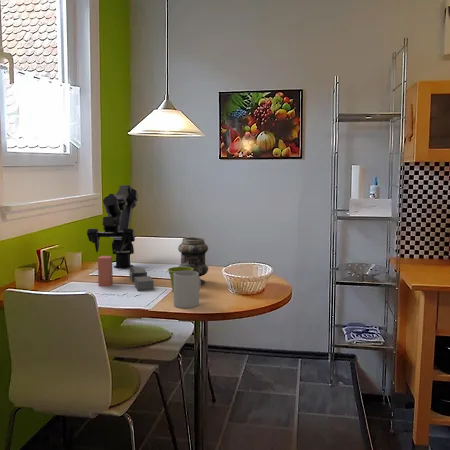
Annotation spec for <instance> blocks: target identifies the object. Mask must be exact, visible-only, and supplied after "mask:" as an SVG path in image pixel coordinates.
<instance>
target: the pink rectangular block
mask: <svg viewBox="0 0 450 450" xmlns="http://www.w3.org/2000/svg"><path fill="white" fill-rule="evenodd" d="M97 267H98V268H97V271H98V273H97V276H98V280H97V281H98V287H111V286H112V285H113V284H114V280H113V279H114V277H113V276H114V275H113V273H114V272H113V255H100V256H99V257H98V258H97Z"/></svg>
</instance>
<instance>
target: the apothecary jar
mask: <svg viewBox="0 0 450 450" xmlns="http://www.w3.org/2000/svg"><path fill="white" fill-rule="evenodd" d="M177 251H178V252H179V253H180V258H181V259H180V264H179V265H178V266H177V267H191V268H193V271H196V272H198V273H199V276H200V277H203V276H204V275H206V274H207V273H208V272H209V266H208V264H206V253H207V252H208V251H209V246H208V245H207V244H206V243H205V239H204V237H200V236H199V237H198V236H186V237H183V238H182V241H181V243H180V244H179V245H178V247H177ZM200 281H201V286H203V285H205V284H206V280H204V279H202V278H200Z"/></svg>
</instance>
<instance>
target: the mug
mask: <svg viewBox="0 0 450 450" xmlns="http://www.w3.org/2000/svg"><path fill="white" fill-rule="evenodd" d="M200 279H201V276H199V273H198V272H196V271H177V272H175V273H174V293H173V306H174V307H175V308H179V309H192V308H196V307H198V306H199V305H200V294H199V293H200V291H201V286H202V285H201V281H200Z"/></svg>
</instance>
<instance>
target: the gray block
mask: <svg viewBox="0 0 450 450" xmlns="http://www.w3.org/2000/svg"><path fill="white" fill-rule="evenodd" d="M128 273H129V279H130V281H131V282H133V283H134V287H135V289H136V290H137V292H140V291H153V290H154V279H153V277H151V275H148V272H147V271H146V269H145V268H129V271H128Z"/></svg>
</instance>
